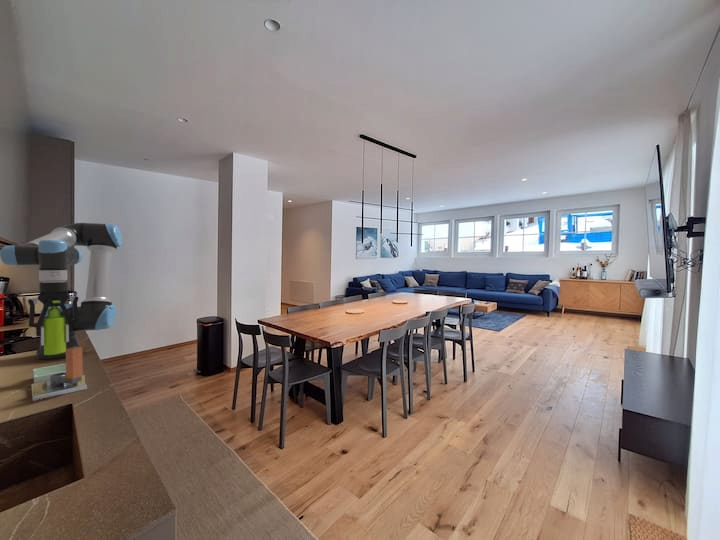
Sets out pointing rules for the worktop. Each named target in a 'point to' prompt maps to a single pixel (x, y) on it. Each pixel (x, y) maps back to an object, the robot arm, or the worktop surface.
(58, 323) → the soap dispenser
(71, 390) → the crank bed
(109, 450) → the worktop surface
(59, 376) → the crank
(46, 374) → the tray
